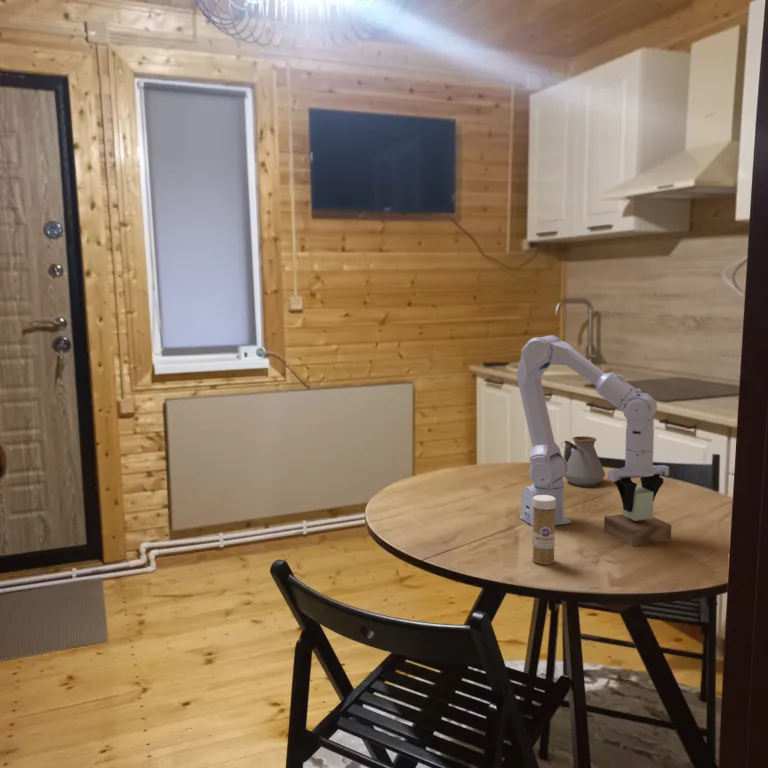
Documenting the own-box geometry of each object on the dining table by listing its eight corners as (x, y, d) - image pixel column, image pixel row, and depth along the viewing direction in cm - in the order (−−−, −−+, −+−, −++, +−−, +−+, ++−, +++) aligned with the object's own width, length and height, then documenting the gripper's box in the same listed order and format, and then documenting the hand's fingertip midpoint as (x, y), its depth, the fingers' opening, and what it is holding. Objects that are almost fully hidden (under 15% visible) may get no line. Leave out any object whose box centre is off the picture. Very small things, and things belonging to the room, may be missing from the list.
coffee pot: (571, 475, 210) (572, 425, 208) (610, 481, 203) (611, 429, 201) (543, 493, 192) (543, 438, 190) (584, 499, 186) (585, 443, 184)
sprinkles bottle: (537, 566, 141) (538, 501, 140) (528, 558, 146) (529, 494, 144) (558, 564, 142) (559, 499, 141) (549, 556, 147) (550, 493, 145)
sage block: (635, 520, 154) (636, 494, 154) (622, 514, 159) (623, 488, 158) (652, 518, 156) (653, 491, 155) (639, 512, 160) (640, 486, 159)
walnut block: (632, 546, 152) (632, 530, 151) (604, 531, 161) (604, 516, 161) (670, 540, 155) (671, 524, 154) (641, 526, 164) (641, 511, 164)
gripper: (622, 456, 149) (620, 518, 151) (679, 450, 154) (677, 510, 155) (602, 449, 156) (601, 508, 158) (657, 443, 160) (655, 502, 162)
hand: (637, 509), depth 157 cm, fingers closed on sage block, 4 cm apart
